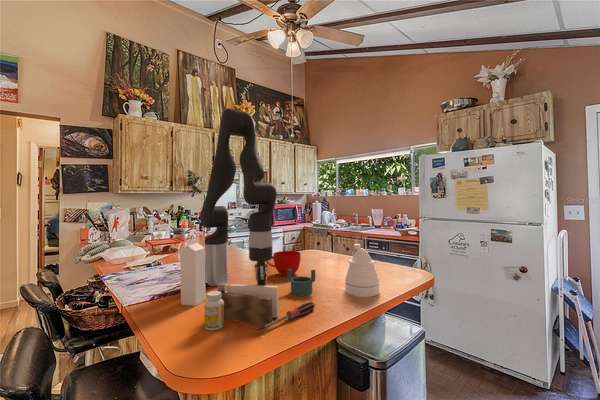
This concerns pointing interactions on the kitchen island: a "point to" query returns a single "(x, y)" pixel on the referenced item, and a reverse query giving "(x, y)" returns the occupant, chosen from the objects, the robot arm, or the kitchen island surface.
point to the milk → (192, 273)
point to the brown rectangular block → (247, 308)
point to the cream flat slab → (253, 292)
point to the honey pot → (361, 275)
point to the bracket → (301, 284)
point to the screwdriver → (293, 313)
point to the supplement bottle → (214, 311)
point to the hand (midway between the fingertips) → (261, 297)
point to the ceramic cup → (286, 261)
